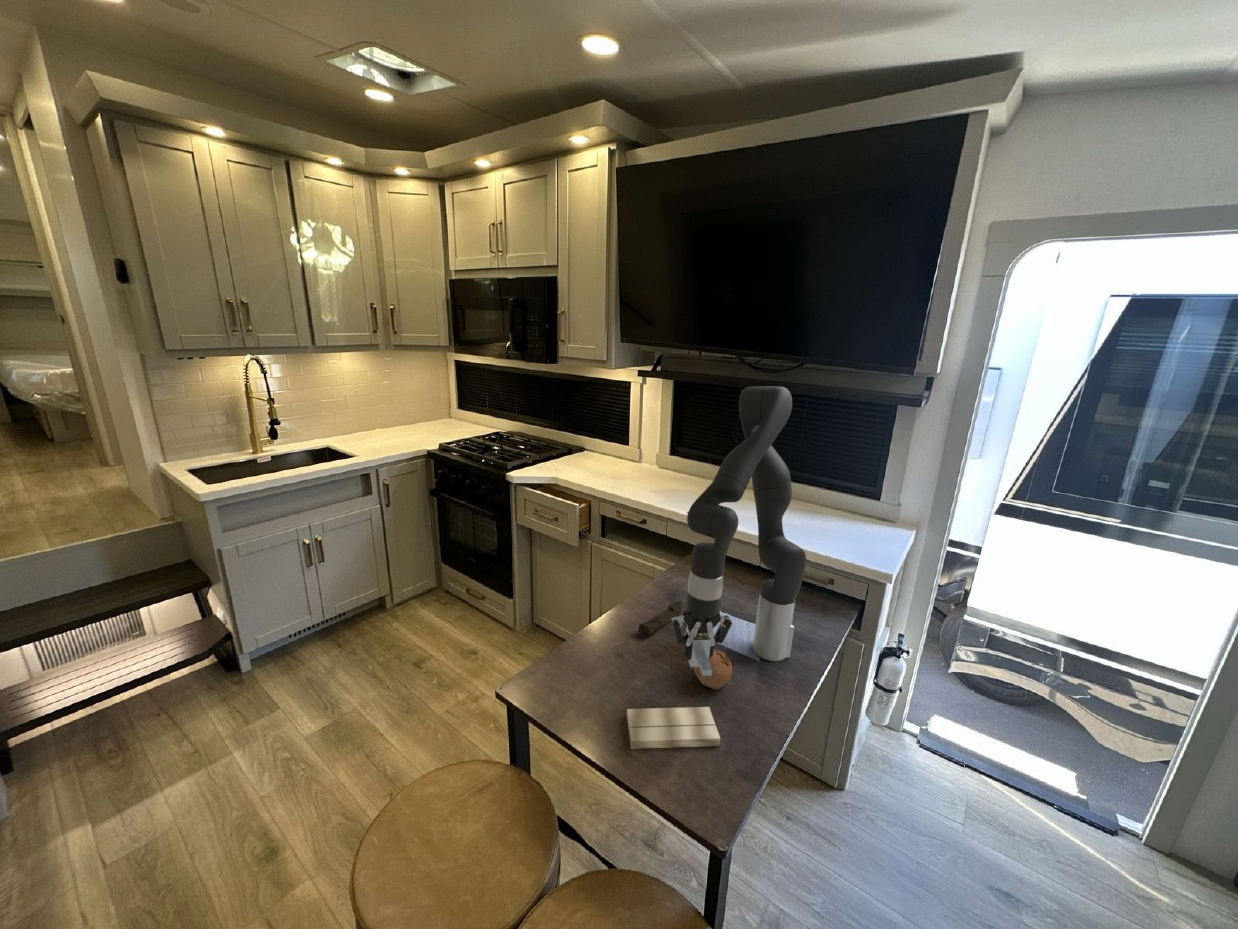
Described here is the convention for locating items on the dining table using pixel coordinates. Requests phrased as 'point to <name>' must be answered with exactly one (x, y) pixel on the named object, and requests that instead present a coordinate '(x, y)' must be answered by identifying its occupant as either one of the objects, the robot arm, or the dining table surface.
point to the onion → (716, 671)
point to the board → (672, 727)
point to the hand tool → (660, 619)
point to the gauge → (701, 653)
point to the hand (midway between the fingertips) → (697, 657)
